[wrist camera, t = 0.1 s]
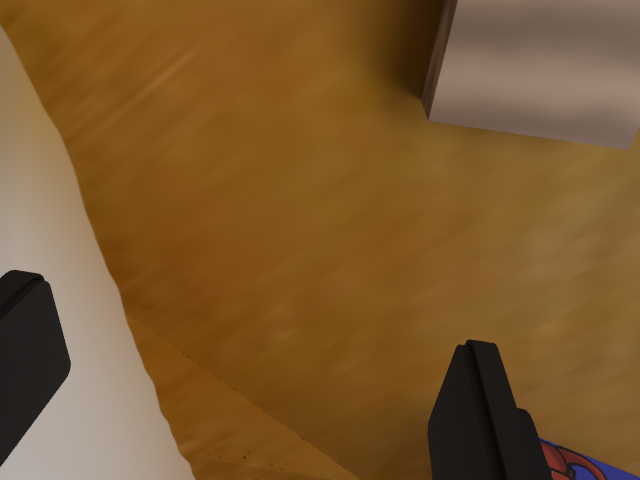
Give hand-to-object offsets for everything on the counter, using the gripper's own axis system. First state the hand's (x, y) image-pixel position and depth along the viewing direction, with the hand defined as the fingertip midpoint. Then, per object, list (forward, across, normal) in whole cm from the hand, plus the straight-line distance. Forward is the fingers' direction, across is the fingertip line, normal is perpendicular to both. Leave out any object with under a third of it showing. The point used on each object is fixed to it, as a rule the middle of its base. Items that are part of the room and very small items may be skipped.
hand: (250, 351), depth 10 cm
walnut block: (+31, -14, -6) cm, 34 cm away
